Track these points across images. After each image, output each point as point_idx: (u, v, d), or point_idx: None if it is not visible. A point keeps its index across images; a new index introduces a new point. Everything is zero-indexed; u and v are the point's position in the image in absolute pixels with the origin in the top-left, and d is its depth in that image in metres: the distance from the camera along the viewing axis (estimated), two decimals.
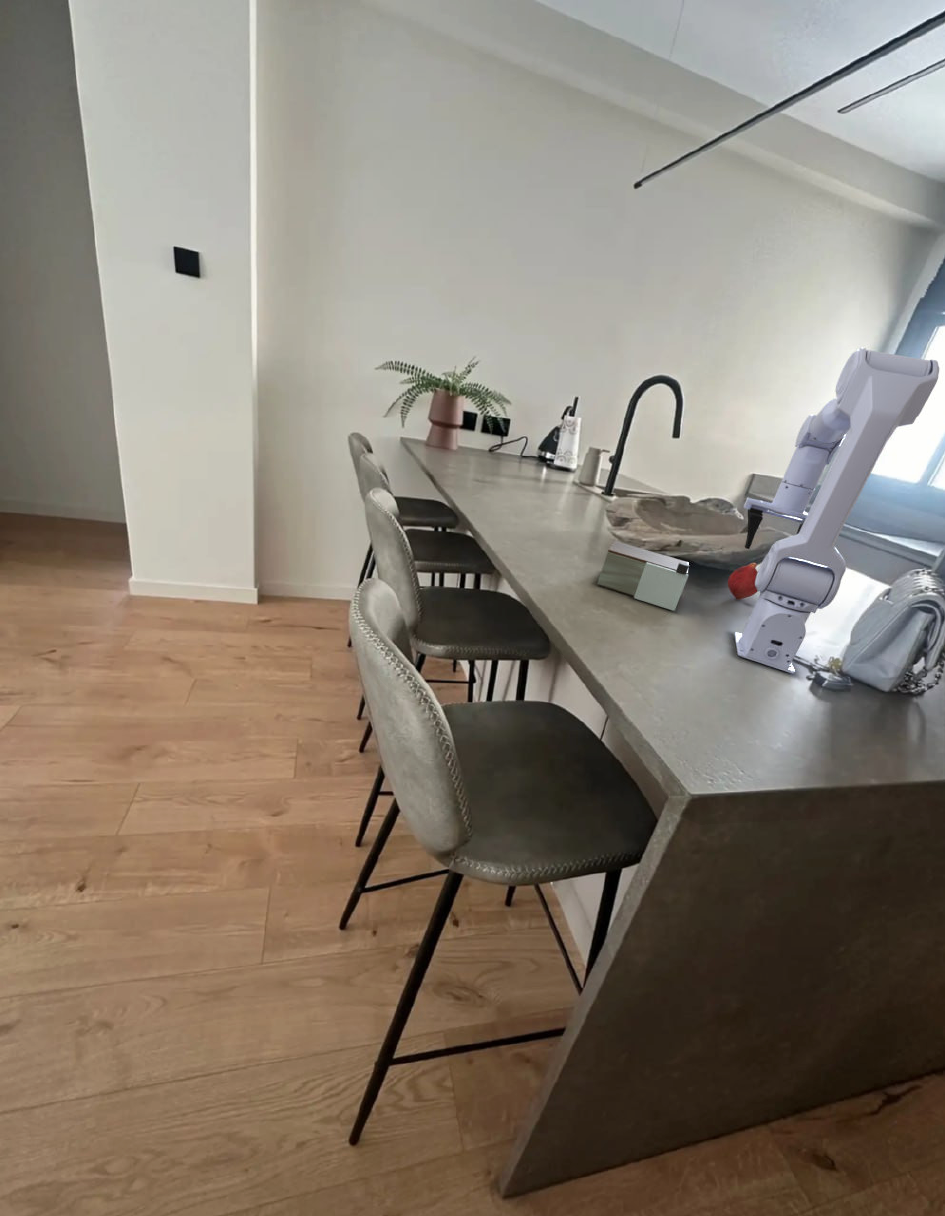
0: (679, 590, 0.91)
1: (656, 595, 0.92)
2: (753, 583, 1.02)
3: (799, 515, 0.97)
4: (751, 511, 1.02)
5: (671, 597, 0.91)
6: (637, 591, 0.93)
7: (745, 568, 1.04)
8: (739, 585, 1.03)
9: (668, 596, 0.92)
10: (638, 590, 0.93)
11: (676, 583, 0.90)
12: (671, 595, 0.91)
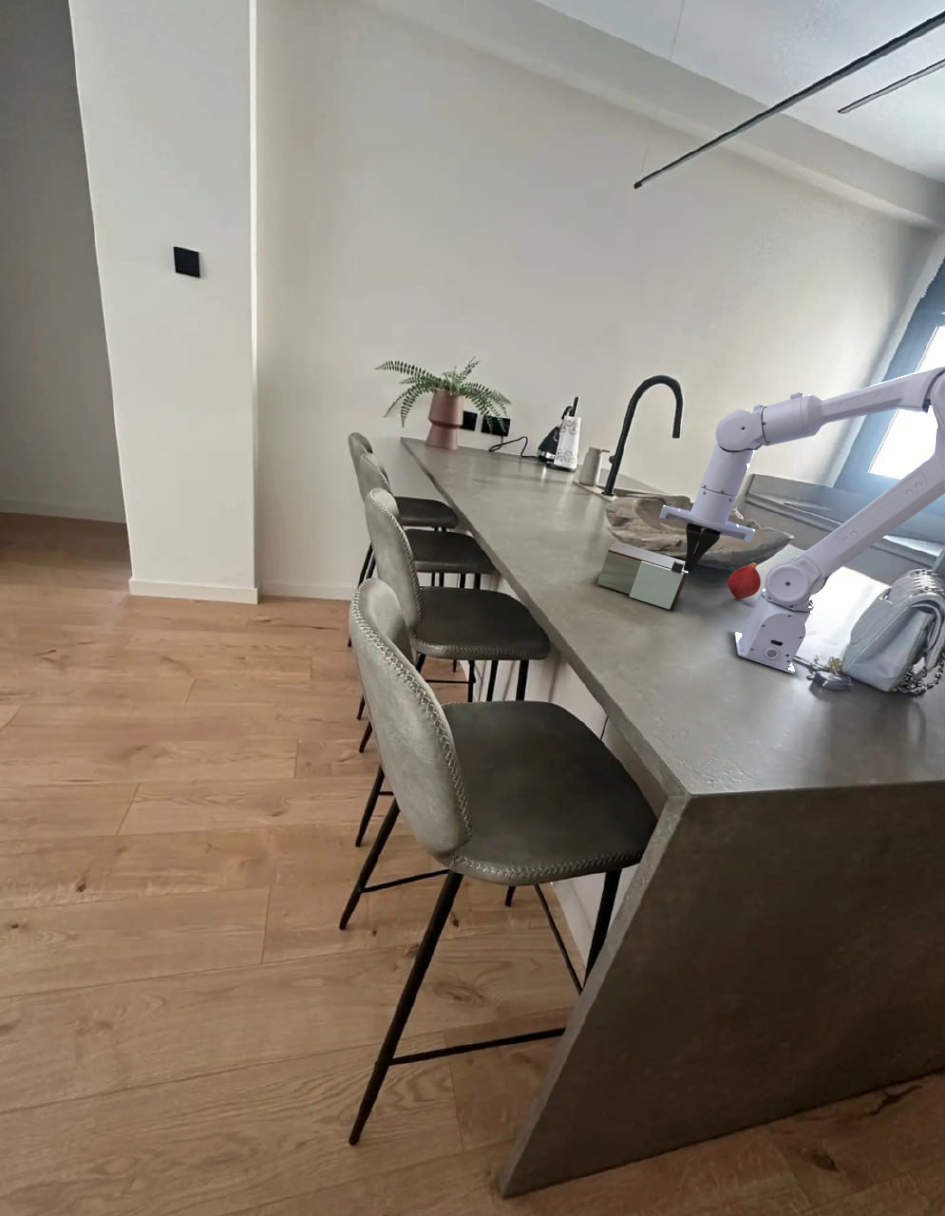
0: (674, 588, 0.91)
1: (651, 593, 0.93)
2: (753, 583, 1.02)
3: (719, 526, 0.83)
4: (689, 527, 0.86)
5: (667, 595, 0.92)
6: (632, 590, 0.94)
7: (745, 568, 1.03)
8: (739, 585, 1.03)
9: (663, 594, 0.92)
10: (633, 589, 0.93)
11: (671, 581, 0.91)
12: (666, 594, 0.92)
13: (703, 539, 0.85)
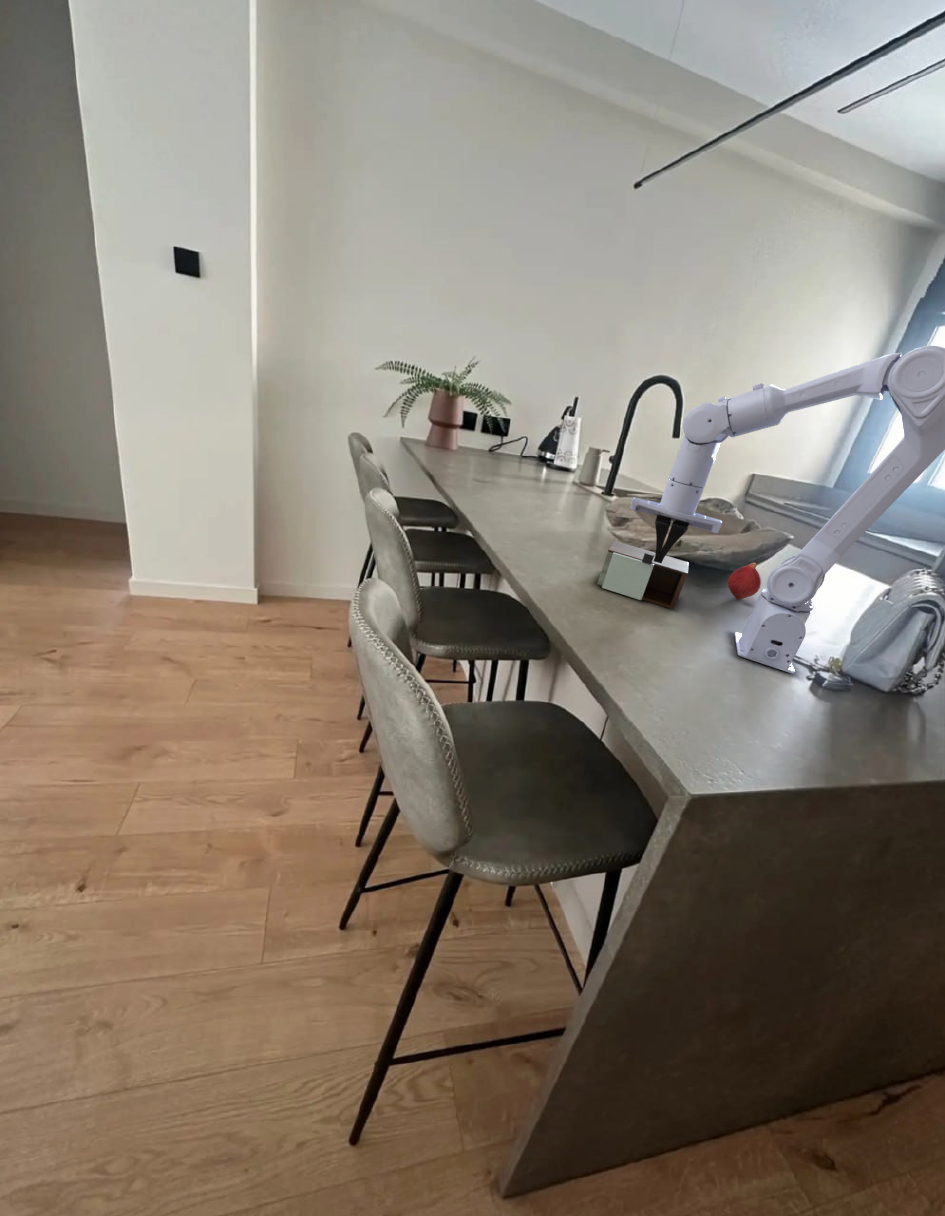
0: (645, 580, 0.92)
1: (623, 584, 0.94)
2: (753, 583, 1.02)
3: (687, 517, 0.84)
4: (658, 518, 0.88)
5: (638, 586, 0.93)
6: (605, 581, 0.95)
7: (745, 568, 1.03)
8: (739, 585, 1.03)
9: (635, 586, 0.93)
10: (606, 580, 0.95)
11: (642, 573, 0.92)
12: (637, 585, 0.93)
13: (671, 530, 0.86)
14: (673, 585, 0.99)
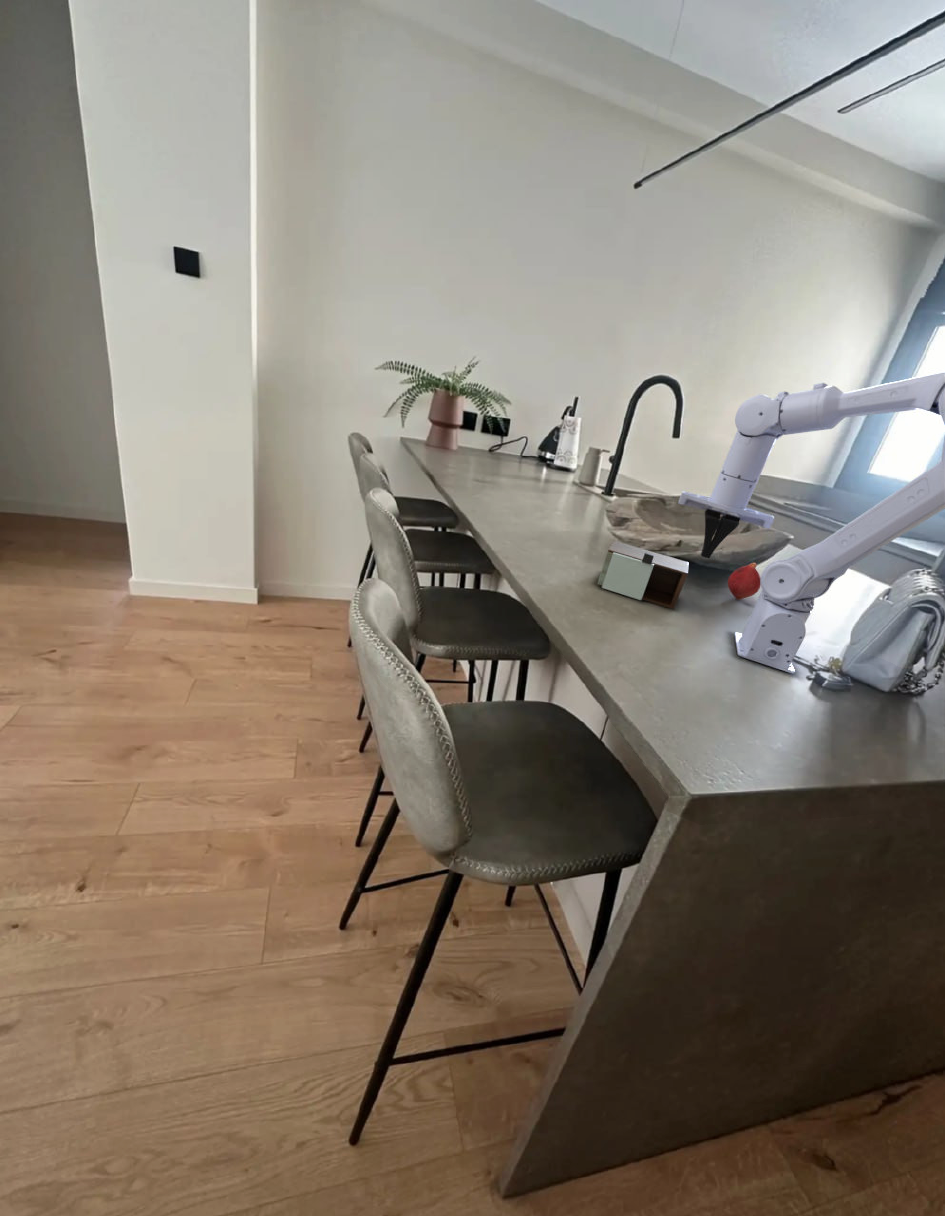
0: (645, 580, 0.92)
1: (623, 584, 0.94)
2: (753, 583, 1.02)
3: (739, 512, 0.83)
4: (707, 513, 0.87)
5: (638, 586, 0.93)
6: (605, 581, 0.95)
7: (745, 568, 1.03)
8: (739, 585, 1.03)
9: (635, 586, 0.93)
10: (606, 580, 0.95)
11: (642, 573, 0.92)
12: (637, 585, 0.93)
13: (722, 525, 0.85)
14: (673, 585, 0.99)
